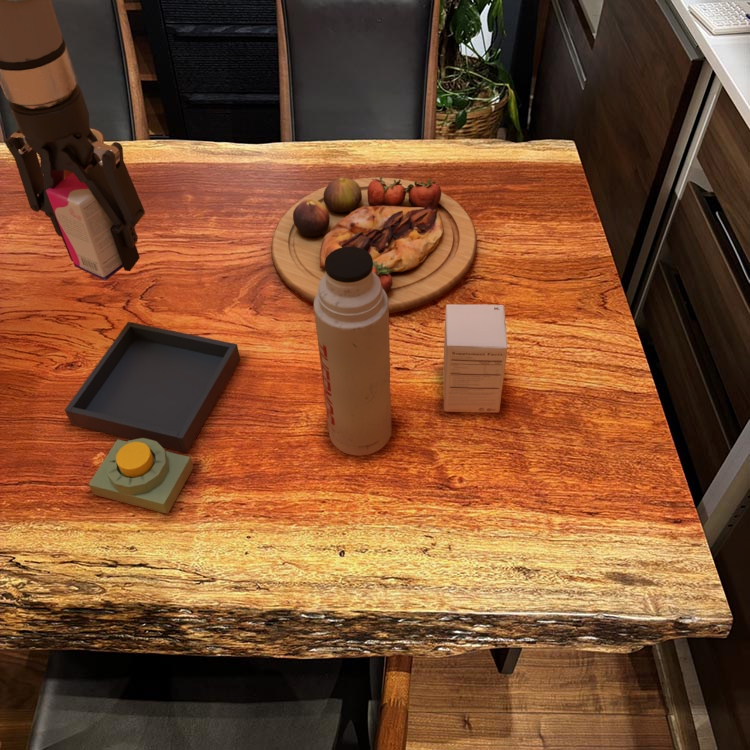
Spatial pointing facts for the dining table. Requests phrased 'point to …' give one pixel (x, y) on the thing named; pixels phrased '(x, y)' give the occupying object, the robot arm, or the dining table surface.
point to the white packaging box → (474, 357)
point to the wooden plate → (378, 237)
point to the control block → (143, 478)
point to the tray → (154, 386)
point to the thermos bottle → (354, 352)
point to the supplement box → (85, 228)
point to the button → (134, 459)
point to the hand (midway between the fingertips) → (105, 259)
